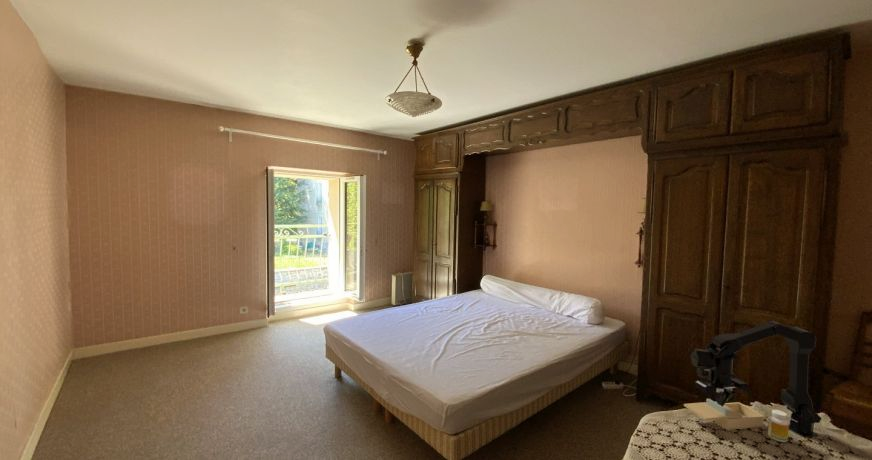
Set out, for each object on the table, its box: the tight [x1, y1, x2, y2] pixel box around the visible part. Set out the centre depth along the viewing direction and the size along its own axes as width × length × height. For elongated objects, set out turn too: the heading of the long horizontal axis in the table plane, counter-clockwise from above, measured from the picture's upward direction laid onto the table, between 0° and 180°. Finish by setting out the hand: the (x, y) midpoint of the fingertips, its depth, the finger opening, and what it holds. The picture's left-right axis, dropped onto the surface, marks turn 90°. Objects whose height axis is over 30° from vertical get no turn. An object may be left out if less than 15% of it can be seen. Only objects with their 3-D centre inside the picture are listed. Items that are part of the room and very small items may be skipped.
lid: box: [683, 398, 743, 421], centre depth 141 cm, size 16×10×3 cm, turn 98°
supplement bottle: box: [767, 409, 790, 443], centre depth 133 cm, size 5×5×10 cm
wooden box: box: [712, 401, 765, 431], centre depth 143 cm, size 16×10×4 cm, turn 98°
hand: (720, 406), depth 142 cm, fingers closed
